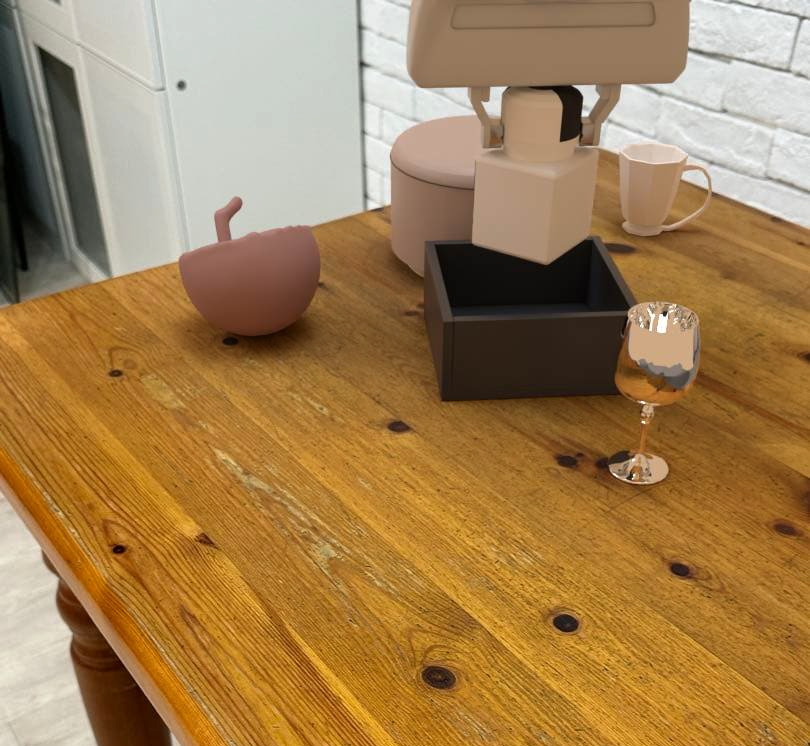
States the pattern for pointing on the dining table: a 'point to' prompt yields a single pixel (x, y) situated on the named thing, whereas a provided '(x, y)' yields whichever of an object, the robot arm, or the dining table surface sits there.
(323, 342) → the dining table surface
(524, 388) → the black bin
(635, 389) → the wineglass
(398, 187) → the container
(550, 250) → the medicine bottle
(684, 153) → the cup
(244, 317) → the coconut drink
